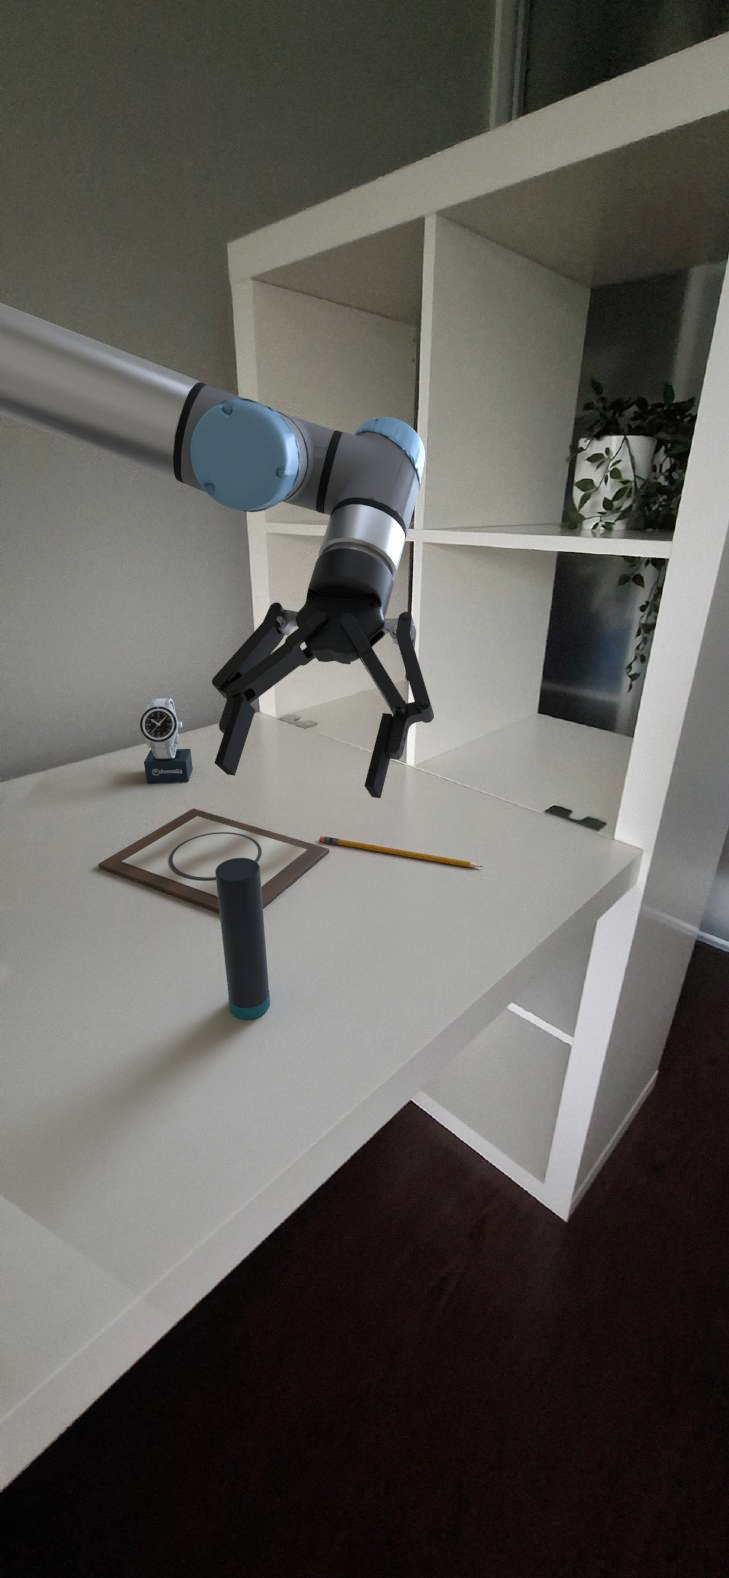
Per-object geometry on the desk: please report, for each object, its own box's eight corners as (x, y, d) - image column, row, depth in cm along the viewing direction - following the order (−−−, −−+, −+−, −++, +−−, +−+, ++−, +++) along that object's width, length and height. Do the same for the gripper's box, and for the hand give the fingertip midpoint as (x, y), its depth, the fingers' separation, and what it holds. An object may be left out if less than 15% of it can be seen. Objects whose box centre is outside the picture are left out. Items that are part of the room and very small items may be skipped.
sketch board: (98, 867, 74) (97, 862, 74) (193, 811, 86) (192, 806, 86) (246, 923, 65) (245, 917, 65) (329, 852, 77) (329, 846, 77)
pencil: (319, 843, 79) (319, 837, 79) (321, 840, 80) (321, 834, 80) (483, 871, 74) (483, 865, 74) (484, 868, 75) (484, 862, 74)
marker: (221, 1010, 55) (205, 873, 49) (246, 986, 58) (234, 853, 52) (253, 1025, 54) (241, 885, 48) (278, 999, 56) (269, 864, 51)
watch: (144, 789, 92) (132, 711, 87) (155, 765, 99) (145, 691, 94) (186, 788, 92) (177, 710, 87) (195, 764, 99) (186, 690, 94)
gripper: (491, 603, 64) (446, 817, 58) (251, 587, 71) (188, 776, 65) (486, 549, 57) (434, 786, 51) (221, 538, 64) (147, 743, 58)
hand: (295, 781), depth 58 cm, fingers open, 13 cm apart
